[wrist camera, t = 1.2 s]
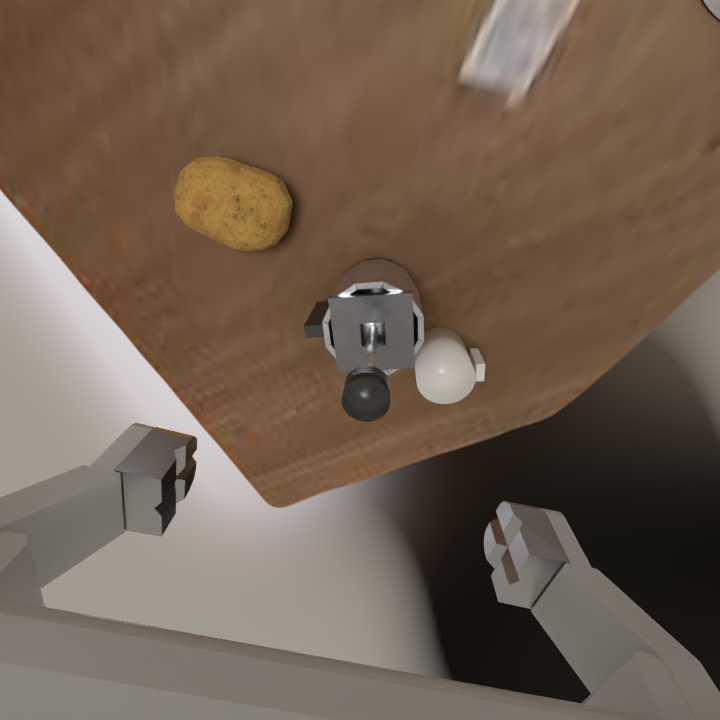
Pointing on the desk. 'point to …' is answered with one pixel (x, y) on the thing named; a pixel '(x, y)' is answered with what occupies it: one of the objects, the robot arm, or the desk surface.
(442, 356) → the white ceramic cylinder
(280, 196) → the potato
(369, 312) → the carafe
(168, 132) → the desk surface
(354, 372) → the plunger
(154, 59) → the desk surface
